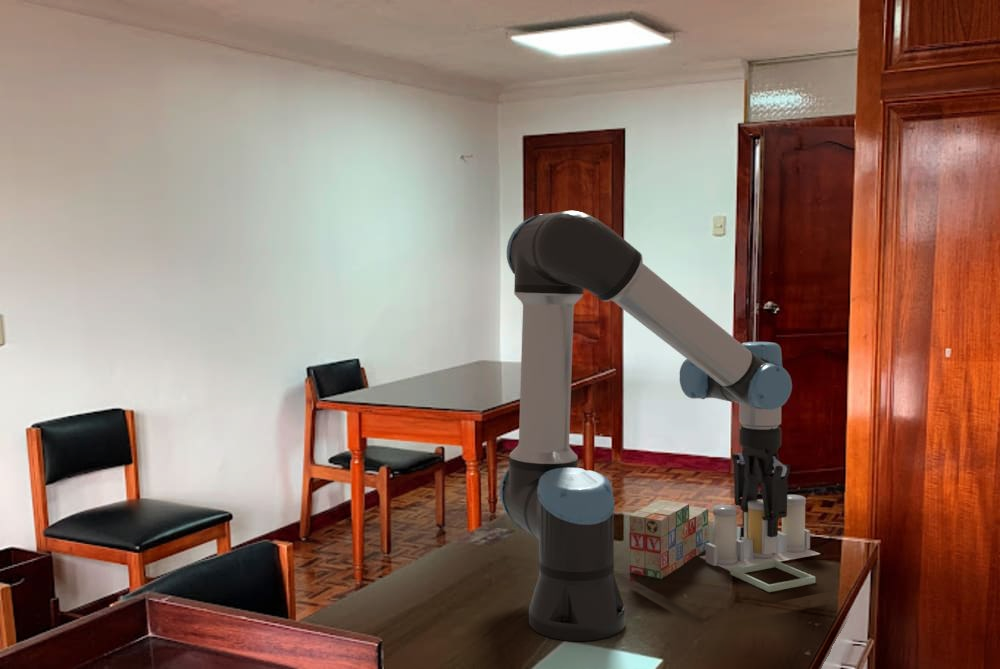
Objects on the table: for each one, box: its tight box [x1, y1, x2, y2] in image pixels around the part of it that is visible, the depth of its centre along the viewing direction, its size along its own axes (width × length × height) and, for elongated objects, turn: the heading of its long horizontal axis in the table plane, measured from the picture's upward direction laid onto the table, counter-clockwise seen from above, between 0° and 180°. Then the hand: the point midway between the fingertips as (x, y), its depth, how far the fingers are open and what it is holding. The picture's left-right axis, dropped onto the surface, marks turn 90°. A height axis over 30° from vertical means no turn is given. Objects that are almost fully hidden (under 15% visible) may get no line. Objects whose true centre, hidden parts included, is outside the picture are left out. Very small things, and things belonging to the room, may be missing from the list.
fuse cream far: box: [781, 494, 807, 553], centre depth 174 cm, size 4×4×10 cm
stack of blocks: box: [628, 499, 710, 583], centre depth 169 cm, size 21×6×12 cm, turn 145°
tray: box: [729, 560, 816, 593], centre depth 159 cm, size 10×10×2 cm
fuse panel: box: [698, 528, 820, 572], centre depth 171 cm, size 22×9×5 cm, turn 114°
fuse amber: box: [748, 499, 772, 559], centre depth 171 cm, size 4×4×10 cm
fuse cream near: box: [711, 504, 738, 565], centre depth 168 cm, size 4×4×10 cm
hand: (759, 548), depth 171 cm, fingers closed on fuse amber, 4 cm apart
